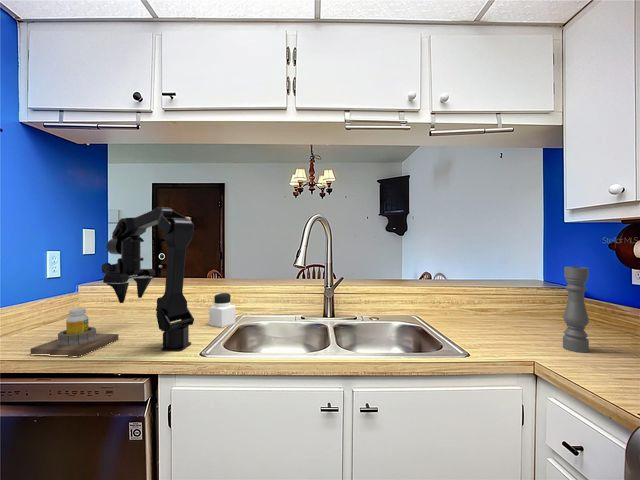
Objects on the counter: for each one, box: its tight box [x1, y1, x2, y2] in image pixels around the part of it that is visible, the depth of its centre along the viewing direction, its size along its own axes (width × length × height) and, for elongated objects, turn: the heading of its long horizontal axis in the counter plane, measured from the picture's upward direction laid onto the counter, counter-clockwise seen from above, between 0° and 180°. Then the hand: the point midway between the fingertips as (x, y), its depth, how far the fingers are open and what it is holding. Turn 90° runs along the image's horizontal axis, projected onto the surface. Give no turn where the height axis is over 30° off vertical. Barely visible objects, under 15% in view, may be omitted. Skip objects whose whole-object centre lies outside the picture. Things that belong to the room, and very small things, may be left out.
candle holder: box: [562, 266, 590, 354], centre depth 96 cm, size 6×6×25 cm
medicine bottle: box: [208, 292, 236, 329], centre depth 122 cm, size 7×7×12 cm
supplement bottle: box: [65, 307, 89, 335], centre depth 96 cm, size 5×5×10 cm
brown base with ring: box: [30, 326, 119, 356], centre depth 96 cm, size 15×15×5 cm
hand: (131, 300), depth 109 cm, fingers open, 9 cm apart
